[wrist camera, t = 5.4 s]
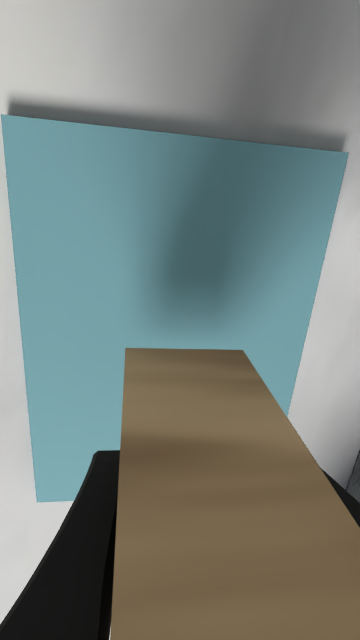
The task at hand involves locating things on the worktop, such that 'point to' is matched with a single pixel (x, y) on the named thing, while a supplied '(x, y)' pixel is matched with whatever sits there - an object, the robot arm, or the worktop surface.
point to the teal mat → (153, 266)
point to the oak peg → (224, 511)
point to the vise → (355, 481)
